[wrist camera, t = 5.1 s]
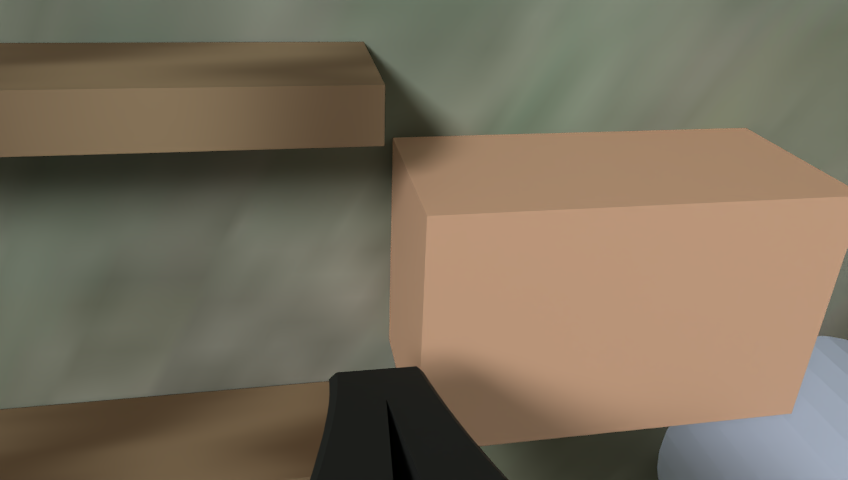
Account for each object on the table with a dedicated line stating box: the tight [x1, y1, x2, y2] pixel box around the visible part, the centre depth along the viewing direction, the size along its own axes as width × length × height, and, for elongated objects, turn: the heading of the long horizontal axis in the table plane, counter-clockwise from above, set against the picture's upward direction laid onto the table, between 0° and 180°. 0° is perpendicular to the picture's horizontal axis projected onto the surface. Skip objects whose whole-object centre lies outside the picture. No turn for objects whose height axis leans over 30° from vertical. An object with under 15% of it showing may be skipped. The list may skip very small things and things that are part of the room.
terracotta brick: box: [389, 128, 848, 446], centre depth 15 cm, size 8×5×4 cm, turn 88°
